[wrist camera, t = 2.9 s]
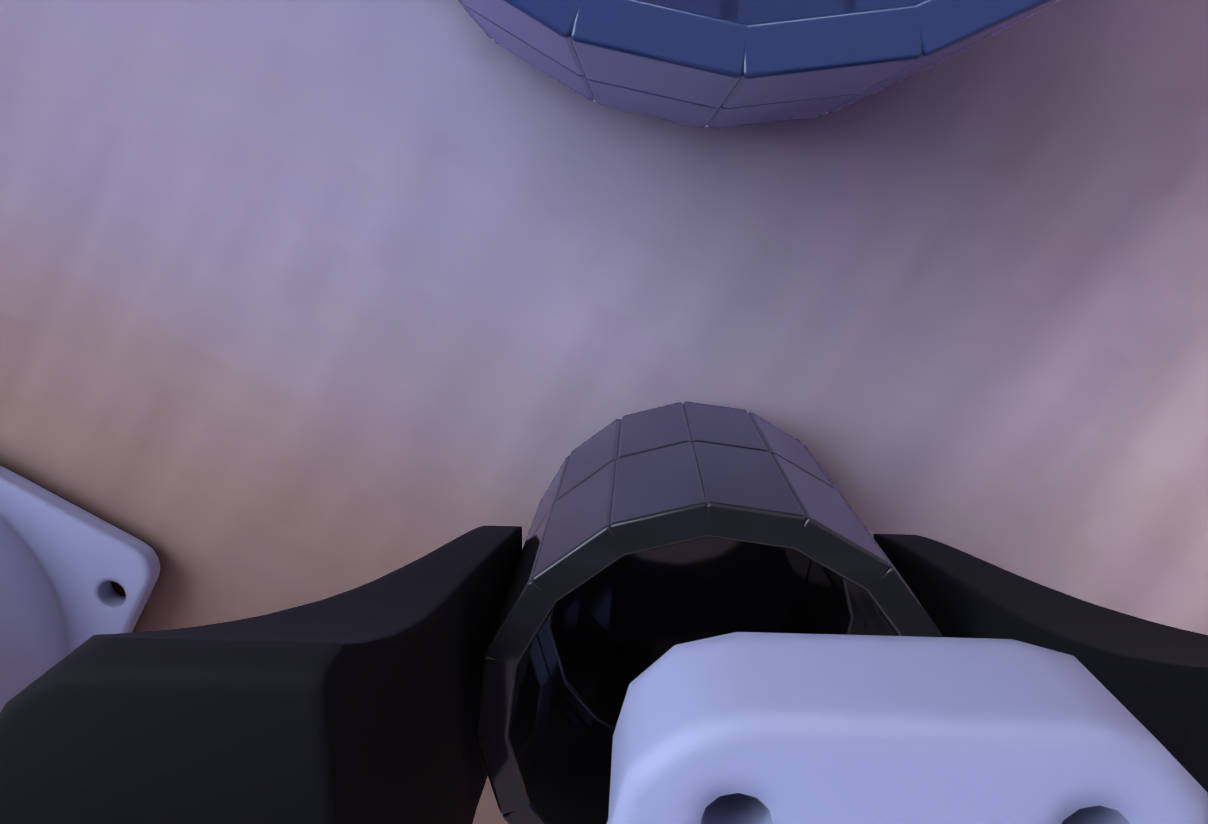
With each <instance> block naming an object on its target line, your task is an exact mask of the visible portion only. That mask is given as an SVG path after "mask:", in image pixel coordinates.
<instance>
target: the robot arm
mask: <svg viewBox="0 0 1208 824" xmlns="http://www.w3.org/2000/svg"><path fill="white" fill-rule="evenodd" d="M874 540H875V541H876V543H877V544H878V545H879V547H880V548H881V549H882V551H883V552H884V553H885V555H886V556H887V558H888V559H889V560H890V562H891V563H892V564H893V566H894V567H895V568H896V570H897V571H898V573H899V574H900V575H901V577H902V578H903V579H904V581H905V582H906V584H907V585H908V586H909V588H910V589H911V590H912V592H913V593H914V595H915V596H916V597H917V599H918V600H919V601H920V603H921V604H922V606H923V607H924V608H925V610H926V611H927V612H928V614H929V615H930V616H931V618H932V619H933V621H934V622H935V623H936V625H937V626H938V627H939V629H940V630H941V632H942V633H943V634H944V637H915V636H877V635H839V634H801V633H763V632H734V633H729V634H724V635H720V636H715V637H710V638H705V639H701V640H696V641H691V642H687V643H682V644H677V645H674V646H673V647H672V648H671V649H669V650H668V651H667V652H666V653H665V654H664V655H662V656H661V657H660V658H659V659H658V660H657V661H655V662H654V663H653V664H652V665H651V666H650V667H648V668H647V669H646V670H645V671H644V672H643V673H641V674H640V675H639V676H638V677H637V678H635V679H634V680H633V681H632V682H631V683H630V684H629V686H628V690H627V693H626V696H625V699H624V702H623V705H622V709H621V712H620V715H619V718H618V721H617V724H616V728H615V731H614V734H613V742H612V760H611V779H610V797H609V815H608V821H607V823H606V824H1208V635H1204V634H1199V633H1195V632H1190V631H1186V630H1181V629H1177V628H1173V627H1170V626H1166V625H1162V624H1158V623H1154V622H1150V621H1147V620H1144V619H1140V618H1137V617H1134V616H1130V615H1127V614H1124V613H1120V612H1117V611H1114V610H1110V609H1107V608H1104V607H1100V606H1097V605H1094V604H1092V603H1089V602H1086V601H1083V600H1080V599H1077V598H1074V597H1072V596H1069V595H1066V594H1064V593H1061V592H1059V591H1056V590H1053V589H1051V588H1048V587H1045V586H1043V585H1040V584H1038V583H1035V582H1033V581H1030V580H1028V579H1025V578H1023V577H1020V576H1018V575H1016V574H1013V573H1011V572H1009V571H1006V570H1004V569H1002V568H999V567H997V566H995V565H992V564H990V563H988V562H985V561H983V560H981V559H978V558H976V557H974V556H972V555H969V554H967V553H965V552H962V551H960V550H958V549H955V548H953V547H950V546H948V545H945V544H943V543H940V542H938V541H935V540H932V539H929V538H926V537H922V536H917V535H896V534H874ZM521 553H522V527H516V526H481V527H478V528H476V529H473V530H471V531H469V532H467V533H465V534H464V535H462V536H460V537H458V538H456V539H455V540H453V541H451V542H449V543H447V544H446V545H444V546H442V547H440V548H438V549H437V550H435V551H433V552H431V553H429V554H427V555H426V556H424V557H422V558H420V559H418V560H416V561H414V562H412V563H410V564H408V565H406V566H404V567H402V568H400V569H398V570H396V571H394V572H392V573H390V574H387V575H385V576H383V577H381V578H379V579H377V580H375V581H372V582H370V583H368V584H365V585H363V586H360V587H358V588H355V589H352V590H350V591H347V592H344V593H341V594H338V595H335V596H333V597H330V598H327V599H324V600H320V601H317V602H313V603H310V604H306V605H302V606H298V607H294V608H290V609H286V610H283V611H279V612H275V613H271V614H267V615H263V616H258V617H253V618H247V619H242V620H237V621H231V622H225V623H218V624H212V625H205V626H198V627H190V628H181V629H171V630H158V631H145V632H133V630H134V628H135V625H136V623H137V621H138V619H139V617H140V615H141V613H142V611H143V609H144V607H145V605H146V603H147V600H148V598H149V596H150V594H151V592H152V590H153V588H154V586H155V584H156V582H157V580H158V578H159V574H160V569H161V567H160V562H159V558H158V556H157V554H156V553H155V551H154V550H153V549H152V548H151V547H150V546H149V545H147V544H146V543H145V542H143V541H141V540H139V539H137V538H136V537H134V536H132V535H130V534H128V533H126V532H124V531H122V530H121V529H119V528H117V527H115V526H113V525H111V524H109V523H108V522H106V521H104V520H102V519H100V518H98V517H96V516H94V515H93V514H91V513H89V512H87V511H85V510H83V509H81V508H79V507H78V506H76V505H74V504H72V503H70V502H68V501H66V500H64V499H63V498H61V497H59V496H57V495H55V494H53V493H51V492H50V491H48V490H46V489H44V488H42V487H40V486H38V485H36V484H35V483H33V482H31V481H29V480H27V479H25V478H23V477H21V476H20V475H18V474H16V473H14V472H12V471H10V470H8V469H7V468H5V467H3V466H1V465H0V824H472V822H473V819H474V815H475V812H476V808H477V805H478V802H479V800H480V797H481V794H482V791H483V788H484V785H485V782H486V779H487V776H488V774H487V771H486V768H485V765H484V762H483V759H482V756H481V753H480V750H479V747H478V745H477V742H476V734H475V729H476V720H477V711H478V702H479V693H480V684H481V675H482V666H483V657H484V654H485V652H486V649H487V646H488V643H489V640H490V637H491V635H492V632H493V629H494V626H495V624H496V621H497V618H498V615H499V612H500V610H501V607H502V604H503V601H504V599H505V596H506V593H507V590H508V588H509V585H510V582H511V579H512V576H513V574H514V571H515V568H516V565H517V563H518V561H519V558H520V555H521ZM112 581H114V582H117V583H118V584H120V585H121V586H122V587H123V588H124V591H125V593H126V597H123V596H120V595H119V594H117V593H116V592H115V591H114V589H113V587H112V585H111V582H112Z"/></svg>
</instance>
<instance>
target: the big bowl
mask: <svg viewBox="0 0 1208 824" xmlns="http://www.w3.org/2000/svg"><path fill="white" fill-rule="evenodd" d="M457 1H458V2H459V3H460V4H461V5H462V6H463V8H464V9H465V10H466V11H467V12H468V13H469V15H470V16H471V17H472V18H473V19H474V20H475V22H476V23H477V24H478V25H479V26H480V27H481V29H482V30H483V31H484V32H485V33H486V34H487V36H488V37H489V38H491V39H493V40H494V41H495V42H496V43H497V44H498V45H500V46H501V47H503V48H505V49H506V50H508V51H509V52H511V53H513V54H514V55H516V56H518V57H519V58H521V59H522V60H524V61H526V62H527V63H529V64H531V65H532V66H534V67H536V68H537V69H539V70H540V71H542V72H544V73H545V74H547V75H549V76H550V77H552V78H553V79H555V80H557V81H558V82H560V83H562V84H563V85H565V86H566V87H568V88H570V89H571V90H573V91H575V92H576V93H578V94H580V95H581V96H583V97H584V98H586V99H588V100H590V101H594V100H595V102H596V103H598V104H599V105H604V106H608V107H613V108H617V109H622V110H626V111H631V112H635V113H639V114H644V115H648V116H653V117H657V118H662V119H666V120H671V121H675V122H680V123H684V124H688V125H693V126H697V127H706V126H708V127H709V128H718V127H727V126H736V125H745V124H755V123H764V122H773V121H782V120H791V119H800V118H809V117H818V116H821V115H823V114H825V113H832V112H834V111H836V110H838V109H840V108H843V107H845V106H847V105H849V104H851V103H854V102H856V101H858V100H860V99H862V98H865V97H867V96H869V95H871V94H873V93H876V92H878V91H880V90H882V89H884V88H887V87H889V86H891V85H893V84H896V83H898V82H900V81H902V80H904V79H907V78H909V77H911V76H913V75H915V74H918V73H920V72H922V71H924V70H926V69H929V68H931V67H933V66H935V65H937V64H939V63H941V62H942V61H944V60H946V59H948V58H950V57H952V56H954V55H956V54H958V53H959V52H961V51H963V50H965V49H967V48H969V47H971V46H973V45H975V44H977V43H978V42H980V41H982V40H984V39H986V38H988V37H990V36H992V35H993V34H995V33H997V32H999V31H1001V30H1003V29H1005V28H1007V27H1009V26H1011V25H1013V24H1015V23H1017V22H1019V21H1020V20H1022V19H1024V18H1026V17H1028V16H1030V15H1032V14H1034V13H1036V12H1037V11H1039V10H1041V9H1043V8H1045V7H1047V6H1049V5H1051V4H1053V3H1055V2H1056V1H1058V0H457Z"/></svg>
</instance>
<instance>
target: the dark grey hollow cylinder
mask: <svg viewBox="0 0 1208 824" xmlns="http://www.w3.org/2000/svg"><path fill="white" fill-rule="evenodd" d="M734 632H763V633H801V634H839V635H877V636H915V637H944V634H943V633H942V632H941V630H940V629H939V627H938V626H937V625H936V623H935V622H934V621H933V619H932V618H931V616H930V615H929V614H928V612H927V611H926V610H925V608H924V607H923V606H922V604H921V603H920V601H919V600H918V599H917V597H916V596H915V595H914V593H913V592H912V590H911V589H910V588H909V586H908V585H907V584H906V582H905V581H904V579H903V578H902V577H901V575H900V574H899V573H898V571H897V570H896V568H895V567H894V566H893V564H892V563H891V562H890V560H889V559H888V558H887V556H886V555H885V553H884V552H883V551H882V549H881V548H880V547H879V545H878V544H877V543H876V541H875V540H874V538H873V537H872V536H871V534H870V533H869V532H868V530H867V529H866V527H865V526H864V525H863V523H862V522H861V521H860V519H859V518H858V517H857V515H856V514H855V512H854V511H853V510H852V508H851V507H850V506H849V504H848V503H847V502H846V500H845V499H844V497H843V496H842V495H841V493H840V492H839V491H838V489H837V488H836V487H835V485H834V484H833V482H832V481H831V480H830V478H829V477H828V476H827V474H826V473H825V472H824V470H823V469H822V467H821V466H820V465H819V463H818V462H817V461H816V459H815V458H814V456H813V455H812V454H811V452H810V451H809V450H808V448H807V447H806V446H805V445H803V444H802V443H801V442H800V441H799V440H798V439H796V438H794V437H793V436H791V435H789V434H787V433H786V432H784V431H782V430H781V429H779V428H777V427H776V426H774V425H772V424H770V423H769V422H767V421H765V420H764V419H762V418H760V417H759V416H757V415H755V414H753V413H750V412H749V413H748V412H747V411H745V410H742V409H735V408H728V407H721V406H714V405H707V404H700V403H693V402H684V404H683V403H679V402H678V403H674V404H670V405H666V406H662V407H658V408H654V409H650V410H646V411H642V412H638V413H633V414H629V415H625V416H623V417H622V418H621V419H616V420H615V421H613V422H612V423H611V424H609V425H608V426H606V427H605V428H604V429H602V430H601V431H600V432H598V433H597V434H595V435H594V436H593V437H591V438H590V439H588V440H587V441H586V442H584V443H583V444H582V445H580V446H579V447H577V448H576V449H575V450H573V451H572V453H571V454H570V456H568V457H567V458H566V459H565V461H564V462H563V464H562V466H561V467H560V469H559V471H558V472H557V474H556V476H555V477H554V479H553V481H552V482H551V484H550V486H549V487H548V489H547V491H546V492H545V494H544V496H543V497H542V499H541V501H540V503H539V505H538V508H537V511H536V514H535V516H534V519H533V522H532V525H531V528H530V530H529V533H528V536H527V539H526V541H525V544H524V547H523V550H522V553H521V555H520V558H519V561H518V563H517V565H516V568H515V571H514V574H513V576H512V579H511V582H510V585H509V588H508V590H507V593H506V596H505V599H504V601H503V604H502V607H501V610H500V612H499V615H498V618H497V621H496V624H495V626H494V629H493V632H492V635H491V637H490V640H489V643H488V646H487V649H486V652H485V654H484V657H483V666H482V675H481V684H480V693H479V702H478V711H477V720H476V729H475V734H476V742H477V745H478V747H479V750H480V753H481V756H482V759H483V762H484V765H485V768H486V771H487V774H488V777H489V780H490V783H491V786H492V789H493V792H494V795H495V798H496V801H497V804H498V807H499V810H500V812H501V813H502V814H503V817H504V819H505V820H506V821H507V822H508V823H509V824H606V823H607V821H608V815H609V797H610V779H611V760H612V742H613V734H614V731H615V728H616V724H617V721H618V718H619V715H620V712H621V709H622V705H623V702H624V699H625V696H626V693H627V690H628V686H629V684H630V683H631V682H632V681H633V680H634V679H635V678H637V677H638V676H639V675H640V674H641V673H643V672H644V671H645V670H646V669H647V668H648V667H650V666H651V665H652V664H653V663H654V662H655V661H657V660H658V659H659V658H660V657H661V656H662V655H664V654H665V653H666V652H667V651H668V650H669V649H671V648H672V647H673V646H674V645H677V644H682V643H687V642H691V641H696V640H701V639H705V638H710V637H715V636H720V635H724V634H729V633H734Z"/></svg>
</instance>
